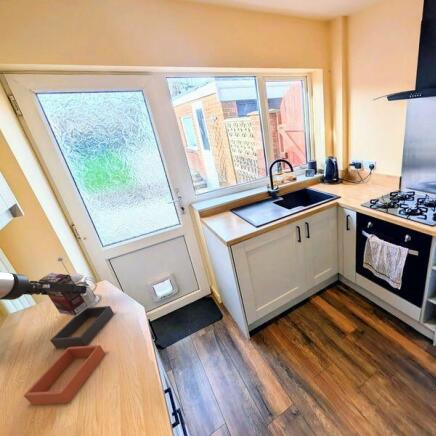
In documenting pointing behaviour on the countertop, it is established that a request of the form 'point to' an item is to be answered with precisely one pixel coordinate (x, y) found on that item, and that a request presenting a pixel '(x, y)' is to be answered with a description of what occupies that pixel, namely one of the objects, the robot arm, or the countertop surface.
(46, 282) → the robot arm
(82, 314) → the right crate
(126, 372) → the countertop surface
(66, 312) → the supplement box
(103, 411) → the countertop surface
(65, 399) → the left crate
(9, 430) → the countertop surface
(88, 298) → the french press
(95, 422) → the countertop surface
